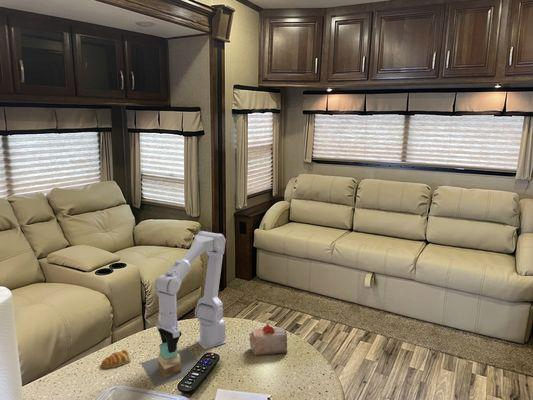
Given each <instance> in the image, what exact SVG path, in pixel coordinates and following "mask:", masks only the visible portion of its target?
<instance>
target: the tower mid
mask: <svg viewBox="0 0 533 400" xmlns="http://www.w3.org/2000/svg"><path fill="white" fill-rule="evenodd" d="M158 357H159V362H160V363H161V365H162V366H163V368H164V369H166V368H169V367H173V366H176V365H179V364H180V355H179V354H178V356H176V357H173V358H170V359H166V360H164V358H163V357H162V356H161V354H160V352H158Z"/></svg>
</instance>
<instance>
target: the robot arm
mask: <svg viewBox="0 0 533 400" xmlns="http://www.w3.org/2000/svg"><path fill="white" fill-rule="evenodd" d="M193 239H194V241H193V242H194V243H193V244H192V245H191V246H190V248H189V250H187V252H186V254H185V255H184V256H183V258H178V259H177V260H175V262H174V263H173V264H172V265H171V267H170V268H169V269H168V270H167V271H166V272H165V273H164V274H162V275H159V276H158V277H157V278H156V279H155V284H154V285H153V288H154V291H155V292H156V293H157V297H158V314H159V315H157V318H158V319H157V321H158V323H156V324H155V327H156V329H157V331H158V333H159V337H160V339H161V344H162V343H166V342H167V347H168V351H169V353H172V352H175V351H176V347H177V348H178V342H179V340H180V338H181V337H182V331H181V330H179V322H178V311H177V304H178V303H177V300H178V299H177V293H178V292H179V291H180V288H181V285H182V282H183V280H184V279H185V277H186V276H187V275H188V274H189V272H191V268H192V267H191V265H192V264H193V263H194V262H195V261H196V260H197V259H198V258H199V257H200V256H201V255H202V254H203V253H204V252H206V254H207V256H208V259H207V265H206V266H207V268H206V274H205V275H206V276H205V283H204V292H203V296H202V297H200V298H199V299H198V300H197V304H196V306H195V309H194V315H195V318H196V319H197V321H198V322H199V338H197V339H195V340H196V343H198V344H199V345H200V346H201V347H202V348H203V349H204V350H207V349H210V348H213V347H217V346H220V345H224V344H226V343H227V340H226V323H225V320H224V318H223V317H224V310H223V309H224V307H223V306H224V303H223V302H222V300H221V299H220V298H219V297H218V296H219V290H220V288H219V286H220V279H221V272H222V266H223V265H222V264H223V257H224V256H223V255H224V254H225V249H226V242H227V240H226V238H225V236H224V234H223V233H215V232H210V231H204V230H200V231H198V232H197V233H196V235H195V236H194V238H193Z"/></svg>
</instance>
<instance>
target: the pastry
mask: <svg viewBox="0 0 533 400" xmlns="http://www.w3.org/2000/svg"><path fill="white" fill-rule="evenodd" d="M130 362H131V356H130V354H129V352H128V350H127V349H122V350H120V351H117V352H113V353H112V354H111V355H109V356H107V357H106V358H105V359H103V360H102V362H101V368H102V369H111V368H118V367H120V366H124V365H126V364H129V363H130Z"/></svg>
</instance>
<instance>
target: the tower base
mask: <svg viewBox="0 0 533 400" xmlns="http://www.w3.org/2000/svg"><path fill="white" fill-rule="evenodd" d="M158 370H159V371H160V372H161V374H162V375H163V377H164V378H166V377H169V376H171V375H174V374H177V373H180V372H181V363H180V364H179V365H176V366H173V367H169V368H166V369H164V368H163V366H162V365H161V363H160V362H159V361H158Z"/></svg>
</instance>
